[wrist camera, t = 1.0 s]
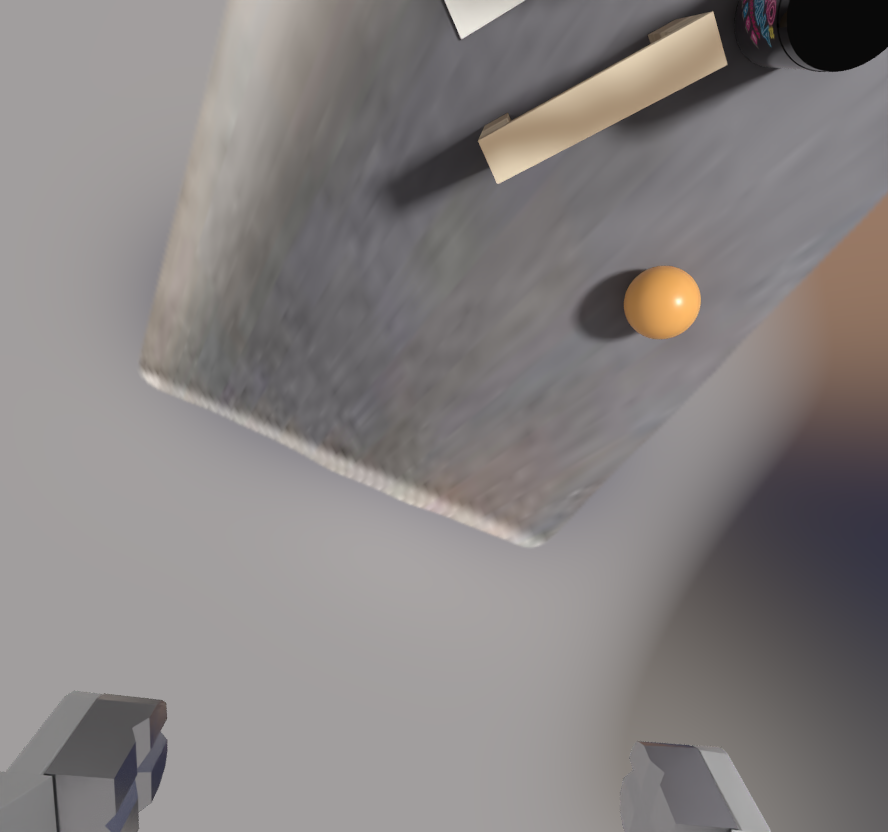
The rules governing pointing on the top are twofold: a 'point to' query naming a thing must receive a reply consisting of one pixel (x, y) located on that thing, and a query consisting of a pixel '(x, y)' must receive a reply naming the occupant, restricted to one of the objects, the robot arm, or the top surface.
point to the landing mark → (477, 13)
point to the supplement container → (812, 33)
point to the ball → (662, 302)
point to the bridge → (606, 96)
